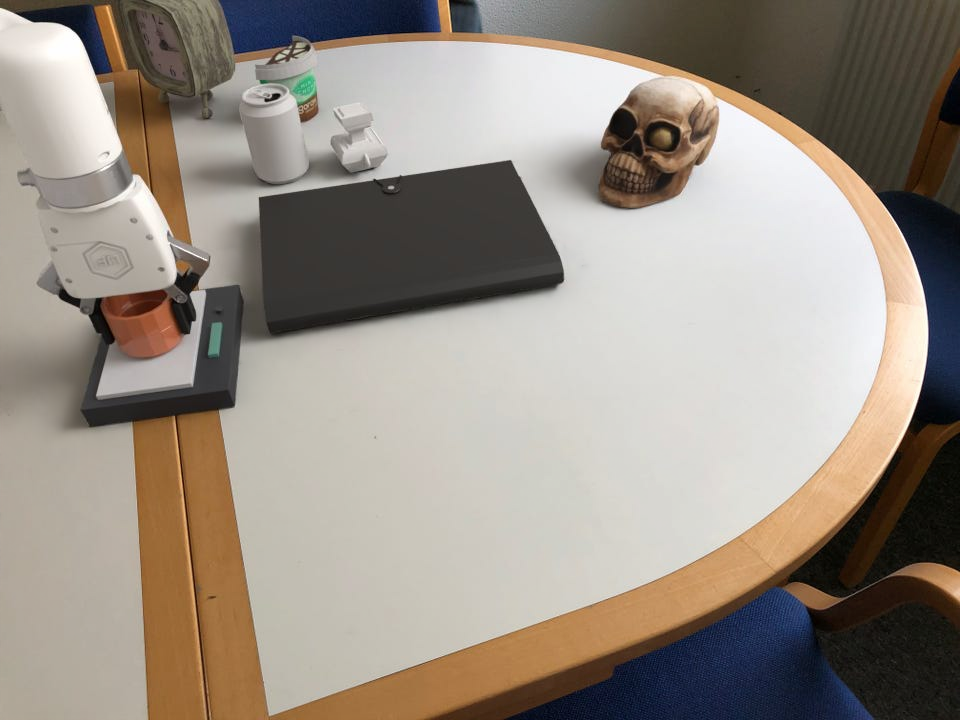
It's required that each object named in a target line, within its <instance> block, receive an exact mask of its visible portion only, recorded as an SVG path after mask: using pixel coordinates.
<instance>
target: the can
mask: <svg viewBox="0 0 960 720" xmlns="http://www.w3.org/2000/svg"><path fill="white" fill-rule="evenodd" d="M240 98H241V102H240V103H239V107H238V110H239V114H240V119H241V122H242V126H243V129H244V134H245V137H246V142H247V145H248V149H249V152H250V153H249V154H250V157H251V161H252V164H253V165H252V166H253V169H254V173H255V175H256V176H257V178H259V179H260V180H263V181H265V182H266V183H269V184H272V185H286V184H290V183H293V182H295V181H298V180H299V179H301V178H302V177H303V176H304V175H305V174H306V172H307V170H308V169H309V168H310V161H309V157H308V151H307V147H306V141H305V136H304V132H303V127H302V123H301V122H300V117H299V112H298V107H297V102H296V99H295V98H294V96H292V95H291V94H289V89H288V88H287V87H285V86H284V85H280V84H272V83H270V84H257V85H254V86H251V87H249V88H247V89H245V90H244V91H243V92H242V93H241V97H240Z"/></svg>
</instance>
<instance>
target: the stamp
mask: <svg viewBox="0 0 960 720" xmlns="http://www.w3.org/2000/svg"><path fill="white" fill-rule="evenodd" d="M332 111H333V114H334V117H335V118H336V120H337V121H338V123H340V125H341V126H342V127H343V128H344V130H345V132H344V133H339V134H334V135H332V136H331V137H330V146H331V148H332V150H333V151H334V153H335V154H336V156H337V158H338V160H339V162H340V163H341V165H342V166H343V167H344V168H345V169H346V170H347V171H349V173H350V174H352V173H356V172H360V171H364V170H369V169H372V168H378V167H381V165H382V164H383V162H384V161H385V160H386V159H387V157H388V156H389V151H388V149H387V147H386V146H385V144H384V143H383V141H382V140H381V138H380V137H379V136H378V134H377V133H376V131H375V130H374V129H373V127H371V126H372V122H374V121H375V119H374V117H373V114H372V112H371V111H370V110H369V108H367V106H366V105H365V104H364V102H362V101H358V102H353V103H349V104H345V105H341V106H336V107H333V108H332Z"/></svg>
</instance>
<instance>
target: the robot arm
mask: <svg viewBox="0 0 960 720" xmlns="http://www.w3.org/2000/svg"><path fill="white" fill-rule="evenodd" d="M1 111H2V113H3V115H4V117H5V119H6V121H7V124H8V126H9V128H10V130H11V132H12V133H13V136H14V139H15V141H16V143H17V145H18V146H19V149H20V151H21V154H22V155H23V157H24V159H25V161H26V163H27V165H28V167H26V168H25V169H21V170H17V175H16V176H17V180H18V183H19V184H20V186H21V187H27V186H30V187H32V188H33V187H35V188H36V190H37V192H38V194H39V197H38V198H37V200H36V202H35V205H36V211H37V215H38V220H39V225H40V227H41V230H42V234H43V238H44V241H45V244H46V246H47V250H48V253H49V256H50V258H51V260H50V261H49V263H48V264H47V265H46V266H45V267H44V268H43V270H41V272H40V273H39V276H38V278H37V280H36V285H37V287H38V288H40V289H42V290H43V291H46V292H48V293H50V294H51V295H54V296H57V297H58V299H59V300H61V301H63V302H65V303H67V304H69V305H71V306H73V307H76V308H77V309H79V312H80V313H81V314H82V315H84V316H88V318H89V320H90V322H91V324H92V327H93V329H94V330H95V332H96V334H97V335H100V336H101V335H102V337H103V339H104V341H105V343H106V345H111V344H113V343H114V342H115V338H114V336H113V333H112V331H111V329H110V327H109V325H108V323H107V321H106V318H105V316H104V314H103V312H102V310H101V307H100V305H101V301H102V298H103V297H110V296H118V295H126V294H134V293H141V292H149V291H156V290H161V289H163V290H164V291H165V292H166V293H167V294H168V295H170V296H171V297H172V298H173V301H172V309H173V312H174V314H175V317H176V320H177V322H178V325H179V327H180V330H181V332H182V334H184V335H187V334H190V331H191V325H192V322H195V321H196V310H195V307H194V305H193V302H192V299H191V296H190V293H191V292H192V291H193V290H195V288H196V287H197V286H198V284H199V283H200V280H201V279H202V277H203V276H204V275H205V274H206V271H207V270H208V269H209V267H210V264H211V254H210V253H208V252H206V251H204V250H202V249H199V248H197V247H195V246H193V245H191V244H189V243H186V242H185V241H182V240H180V239H178V238H176V237H174V235H173V232H172V230H171V228H170V225H169V223H168V221H167V219H166V217H165V215H164V213H163V211H162V209H161V207H160V205H159V203H158V201H157V200H156V199H155V196H154V195H153V193H152V192H151V190H150V188H149V187H148V186H147V184H146V182H145V181H144V180H143V178H142V177H141V176H140V174H134V173H133V171H132V168H131V166H130V164H129V161H128V158H127V155H126V152H125V150H124V148H123V145H122V142H121V139H120V137H119V134H118V131H117V129H116V126H115V124H114V121H113V118H112V116H111V113H110V111H109V108H108V105H107V102H106V99H105V97H104V95H103V91H102V90H101V87H100V84H99V81H98V79H97V76H96V74H95V70H94V68H93V66H92V63H91V61H90V57H89V54H88V52H87V49H86V47H85V44H84V43H83V41H82V39H81V38H80V37H79V35H78V34H77V33H76V32H75V31H74V30H72V29H71V28H70V27H68V26H65V25H63V24H61V23H56V22H46V21H45V22H42V21H39V22H33V21H31V20H28V19H27V18H25V17H22V16H20V15H18V14H16V13H15V12H12V11H10V10H7V9H5V8H3V7H2V8H1V7H0V112H1ZM179 260H180V261H182V262H184V263H186V264H189V265H190V266H189V267H187V269H186V270H185V272H184V273H183V272H182V271H180V269H178V268H177V264H176V263H177V262H178V261H179Z"/></svg>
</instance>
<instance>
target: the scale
mask: <svg viewBox="0 0 960 720" xmlns="http://www.w3.org/2000/svg"><path fill="white" fill-rule="evenodd" d="M190 296H191V299H192V302H193V305H194V307H195V310H196V321H195V322H192V325H191V331H190V334H187V335H185V336H184V337H183V339H182V340H181V341H180V343H179V344H178V345H177V346H176V347H175V348H173V349H172V350H170V351H169V352H167V353H165V354H162V355H159V356H156V357H151V358H139V357H133V356H128V355H127V354H125V353H123V352H122V351H121V350H120V348H119V346H118V344H117V342H116V340H115V342H114V343H113V344H111V345H106V343H105V341H104V339H103V337H102V335H101V334H100V339H99V342H98V345H97V349H96V353H95V356H94V360H93V363H92V367H91V371H90V373H89V377H88V381H87V384H86V389H85V392H84V394H83V398H82V402H81V406H80V410H79V411H80V413H81V414H82V416H83V418H84V419H85V420H84V421H86V423H87V425H88V427H89V428H93V427H101V426H109V425H115V424H123V423H128V422H137V421H145V420H151V419H158V418H165V417H173V416H179V415H180V416H181V415H187V414H193V413H201V412H209V411H214V410H216V411H217V410H222V409H229V408H235V406H236V398H237V397H236V396H237V385H238V375H239V364H240V363H239V362H240V353H241V351H240V350H241V341H242V330H243V329H242V328H243V318H244V317H243V316H244V306H245V305H244V304H245V301H244V296H243V294H242V290H241V287H240V285H239V284H232V285H224V286H218V287H216V286H215V287H208V288H202V289H193V291H192V292H191V293H190Z"/></svg>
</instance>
